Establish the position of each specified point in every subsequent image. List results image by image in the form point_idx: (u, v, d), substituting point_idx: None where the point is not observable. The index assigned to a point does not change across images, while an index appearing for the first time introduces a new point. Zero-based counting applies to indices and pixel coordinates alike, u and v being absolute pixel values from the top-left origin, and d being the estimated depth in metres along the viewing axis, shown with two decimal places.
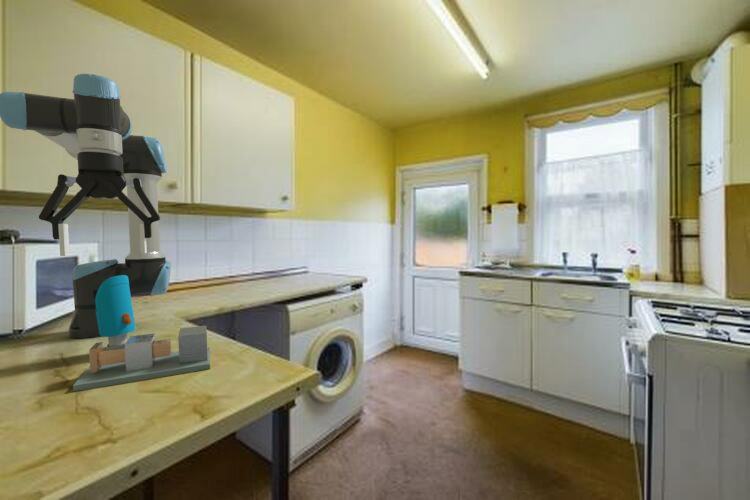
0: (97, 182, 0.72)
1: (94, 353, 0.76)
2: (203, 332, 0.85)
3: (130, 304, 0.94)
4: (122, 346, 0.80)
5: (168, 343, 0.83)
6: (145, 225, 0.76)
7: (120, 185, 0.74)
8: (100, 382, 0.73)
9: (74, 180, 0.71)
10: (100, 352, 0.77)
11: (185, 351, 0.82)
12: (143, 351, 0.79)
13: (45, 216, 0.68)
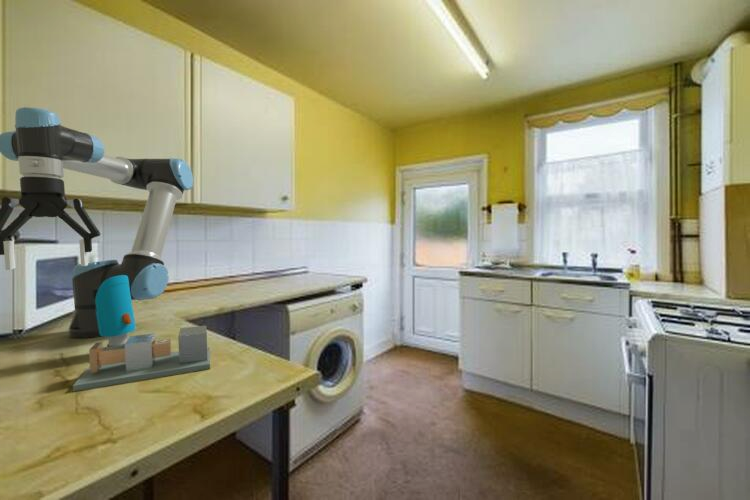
0: (39, 203, 0.81)
1: (94, 353, 0.76)
2: (203, 332, 0.85)
3: (130, 304, 0.94)
4: (122, 346, 0.80)
5: (168, 343, 0.83)
6: (85, 240, 0.85)
7: (61, 205, 0.82)
8: (100, 382, 0.73)
9: (17, 202, 0.79)
10: (100, 352, 0.77)
11: (185, 351, 0.82)
12: (143, 351, 0.79)
13: None
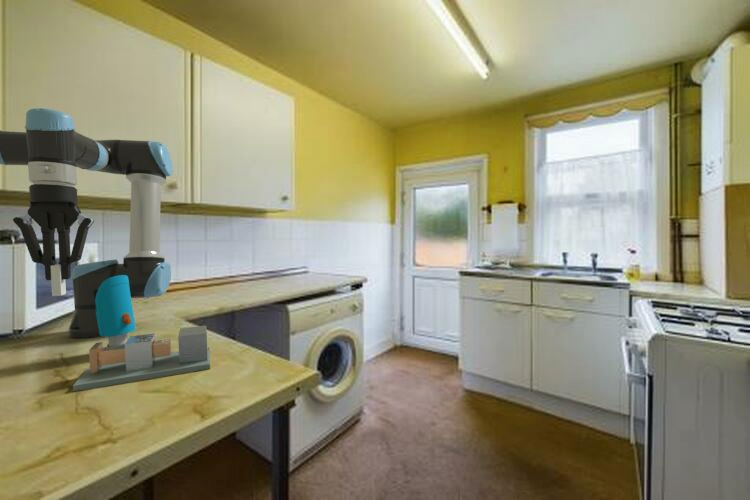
0: (47, 211, 0.73)
1: (94, 353, 0.76)
2: (203, 332, 0.85)
3: (130, 304, 0.94)
4: (122, 346, 0.80)
5: (168, 343, 0.83)
6: (62, 266, 0.74)
7: (69, 215, 0.74)
8: (100, 382, 0.73)
9: (29, 216, 0.72)
10: (100, 352, 0.77)
11: (185, 351, 0.82)
12: (143, 351, 0.79)
13: (37, 257, 0.72)
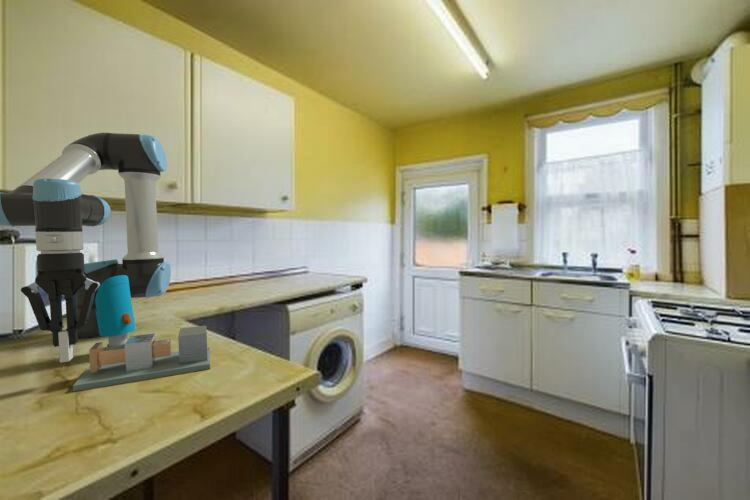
0: (54, 279, 0.73)
1: (94, 353, 0.76)
2: (203, 332, 0.85)
3: (130, 304, 0.94)
4: (122, 346, 0.80)
5: (168, 343, 0.83)
6: (70, 332, 0.75)
7: (77, 282, 0.75)
8: (100, 382, 0.73)
9: (36, 284, 0.72)
10: (100, 352, 0.77)
11: (185, 351, 0.82)
12: (143, 351, 0.79)
13: (45, 325, 0.73)
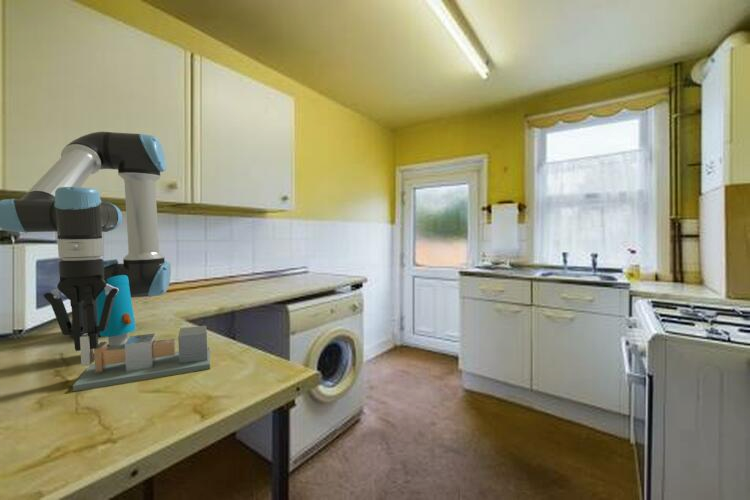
0: (76, 285, 0.75)
1: (99, 352, 0.76)
2: (203, 332, 0.85)
3: (130, 304, 0.94)
4: None
5: (172, 342, 0.83)
6: (90, 336, 0.77)
7: (97, 287, 0.76)
8: (100, 382, 0.73)
9: (58, 290, 0.74)
10: (105, 351, 0.77)
11: (185, 351, 0.82)
12: (143, 351, 0.79)
13: (67, 330, 0.74)
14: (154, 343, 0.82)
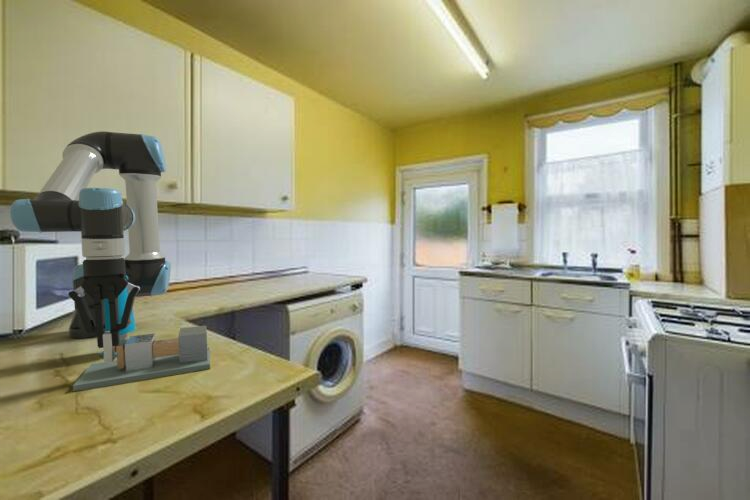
0: (99, 284, 0.76)
1: (121, 349, 0.78)
2: (203, 332, 0.85)
3: None
4: None
5: None
6: (113, 334, 0.78)
7: (119, 286, 0.78)
8: (100, 382, 0.73)
9: (82, 289, 0.76)
10: None
11: (185, 351, 0.82)
12: (143, 351, 0.79)
13: (90, 328, 0.76)
14: (173, 340, 0.84)
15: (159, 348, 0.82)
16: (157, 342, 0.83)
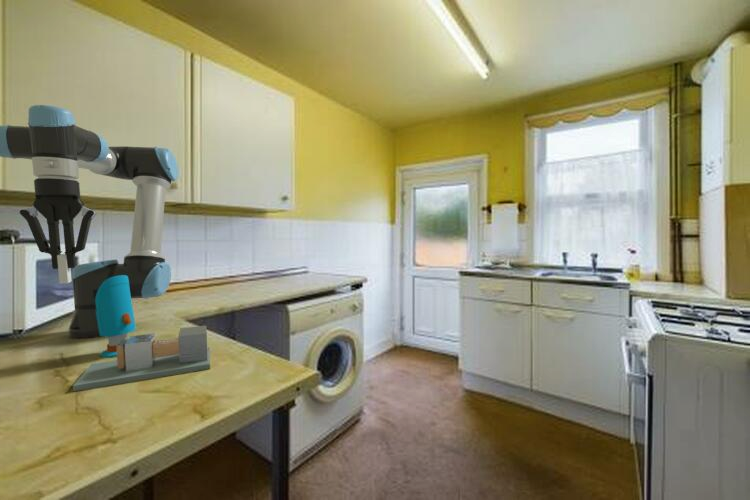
0: (52, 204, 0.77)
1: (121, 349, 0.78)
2: (203, 332, 0.85)
3: (130, 304, 0.94)
4: None
5: None
6: (68, 256, 0.79)
7: (73, 208, 0.78)
8: (100, 382, 0.73)
9: (34, 208, 0.76)
10: None
11: (185, 351, 0.82)
12: (143, 351, 0.79)
13: (44, 248, 0.77)
14: (173, 340, 0.84)
15: (159, 348, 0.82)
16: (157, 342, 0.83)
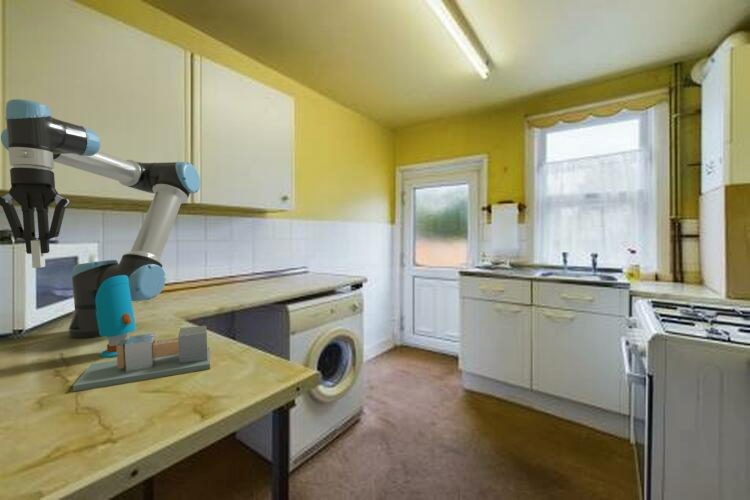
0: (26, 192, 0.81)
1: (121, 349, 0.78)
2: (203, 332, 0.85)
3: (130, 304, 0.94)
4: None
5: None
6: (41, 241, 0.83)
7: (47, 196, 0.83)
8: (100, 382, 0.73)
9: (10, 196, 0.81)
10: None
11: (185, 351, 0.82)
12: (143, 351, 0.79)
13: (18, 233, 0.81)
14: (173, 340, 0.84)
15: (159, 348, 0.82)
16: (157, 342, 0.83)
